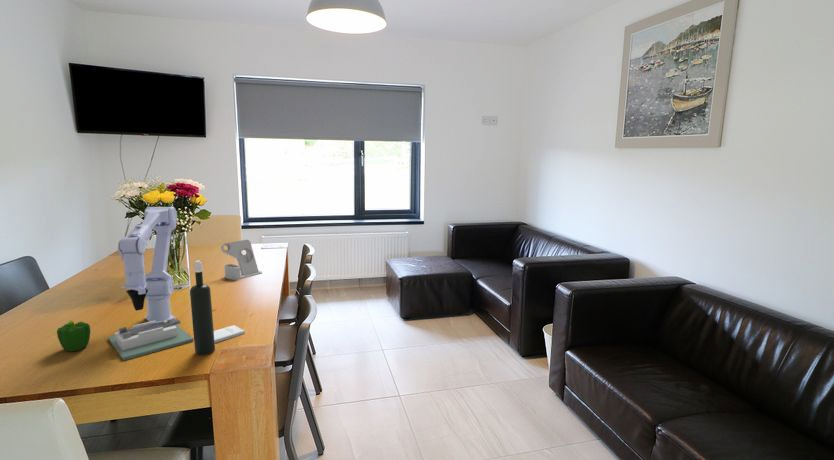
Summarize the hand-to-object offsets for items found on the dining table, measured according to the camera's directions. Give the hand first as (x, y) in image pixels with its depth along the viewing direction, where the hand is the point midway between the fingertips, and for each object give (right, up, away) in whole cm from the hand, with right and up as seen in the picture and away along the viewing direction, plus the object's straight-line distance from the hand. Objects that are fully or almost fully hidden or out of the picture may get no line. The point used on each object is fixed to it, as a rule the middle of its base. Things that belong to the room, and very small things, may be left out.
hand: (139, 309), depth 147 cm
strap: (+6, -6, -3) cm, 9 cm away
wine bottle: (+28, -12, -11) cm, 32 cm away
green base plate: (+6, -10, -3) cm, 12 cm away
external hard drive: (+28, -10, +2) cm, 30 cm away
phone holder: (+4, +3, +78) cm, 78 cm away
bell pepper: (-15, -11, -9) cm, 21 cm away
